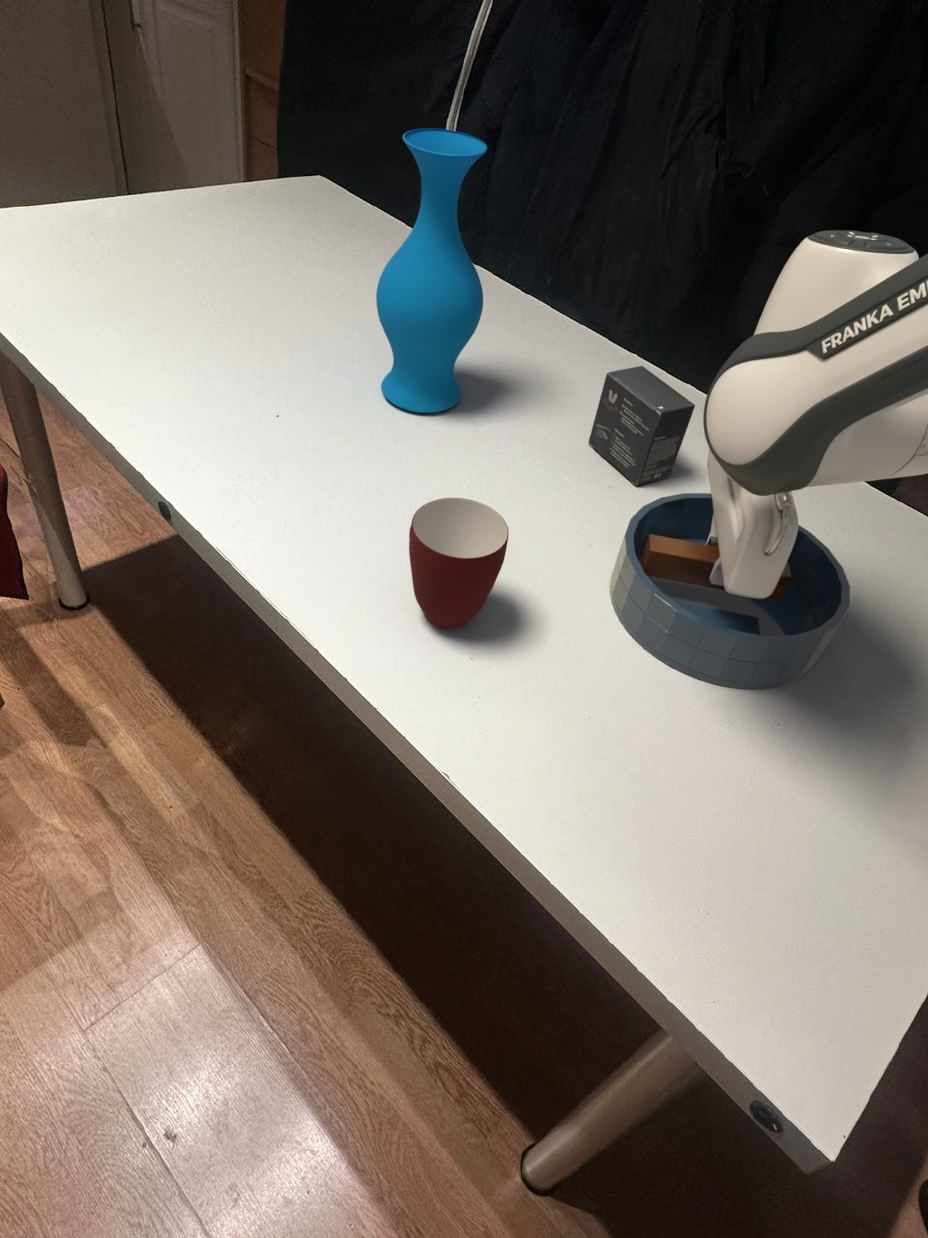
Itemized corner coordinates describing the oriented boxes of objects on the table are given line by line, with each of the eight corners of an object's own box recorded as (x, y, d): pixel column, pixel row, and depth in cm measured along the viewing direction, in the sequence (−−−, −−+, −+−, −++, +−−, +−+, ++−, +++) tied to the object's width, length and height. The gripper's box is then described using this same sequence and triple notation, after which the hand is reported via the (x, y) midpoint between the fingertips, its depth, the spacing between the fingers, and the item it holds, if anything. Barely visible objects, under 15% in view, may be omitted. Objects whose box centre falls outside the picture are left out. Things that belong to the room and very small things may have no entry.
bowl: (847, 602, 82) (875, 557, 78) (780, 727, 69) (810, 681, 65) (663, 514, 89) (680, 468, 85) (571, 612, 76) (585, 563, 72)
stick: (775, 583, 78) (788, 559, 76) (778, 601, 76) (791, 576, 74) (640, 557, 78) (649, 533, 76) (641, 574, 77) (650, 550, 74)
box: (672, 477, 95) (698, 404, 88) (635, 487, 92) (659, 413, 86) (622, 435, 100) (643, 363, 93) (586, 444, 98) (605, 370, 91)
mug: (368, 589, 75) (372, 501, 68) (435, 558, 79) (446, 472, 72) (441, 660, 70) (455, 572, 63) (509, 622, 74) (529, 536, 67)
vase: (473, 377, 106) (508, 134, 86) (464, 428, 97) (501, 169, 77) (381, 362, 106) (395, 115, 86) (363, 412, 97) (374, 148, 77)
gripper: (835, 521, 59) (763, 652, 69) (792, 385, 74) (737, 509, 83) (748, 505, 59) (688, 638, 69) (723, 373, 74) (676, 497, 84)
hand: (715, 566), depth 76 cm, fingers closed on stick, 2 cm apart
